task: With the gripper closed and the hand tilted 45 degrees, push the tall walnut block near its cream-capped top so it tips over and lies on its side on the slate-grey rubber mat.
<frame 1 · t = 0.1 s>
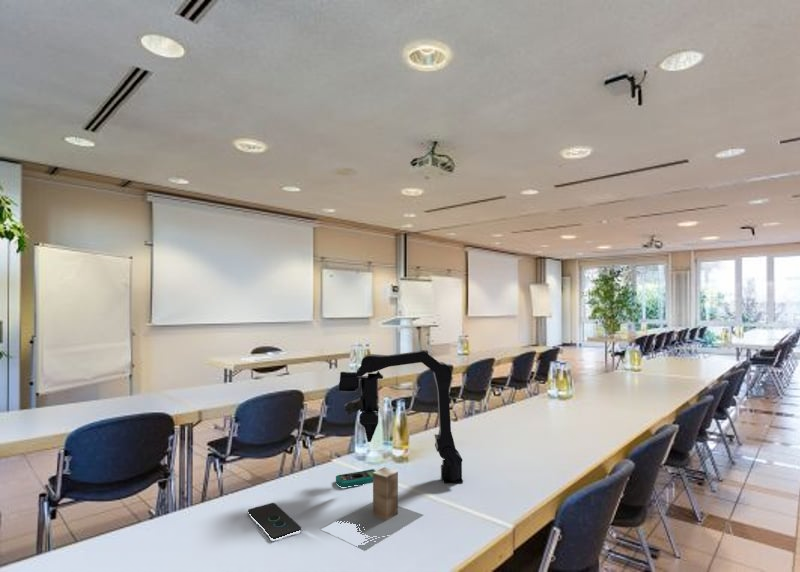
hand: (369, 437, 155), 15 cm above the table, tool pointing down, fingers open, 9 cm apart
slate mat: (372, 523, 124), on the table
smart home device: (273, 525, 125), on the table
digital multimeter: (358, 483, 154), on the table
walnut block: (385, 514, 128), resting on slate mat
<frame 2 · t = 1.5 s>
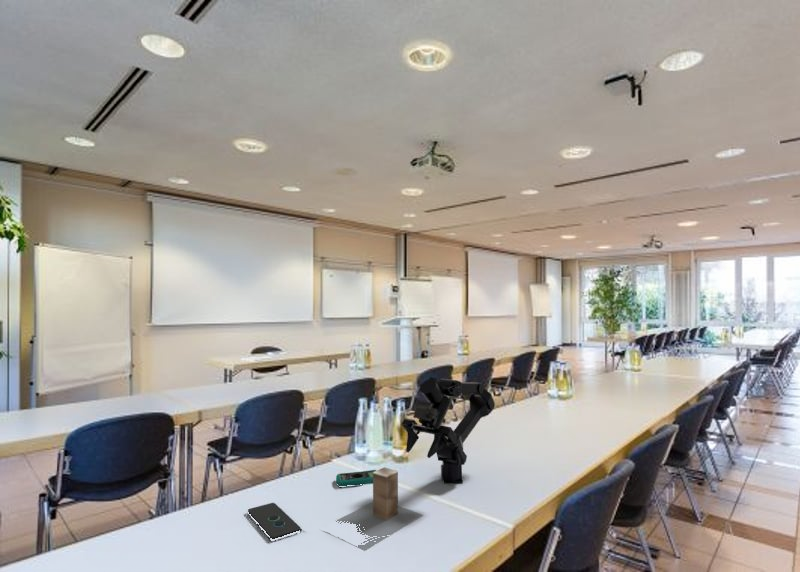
hand: (417, 454, 141), 13 cm above the table, tool tilted 45°, fingers open, 8 cm apart
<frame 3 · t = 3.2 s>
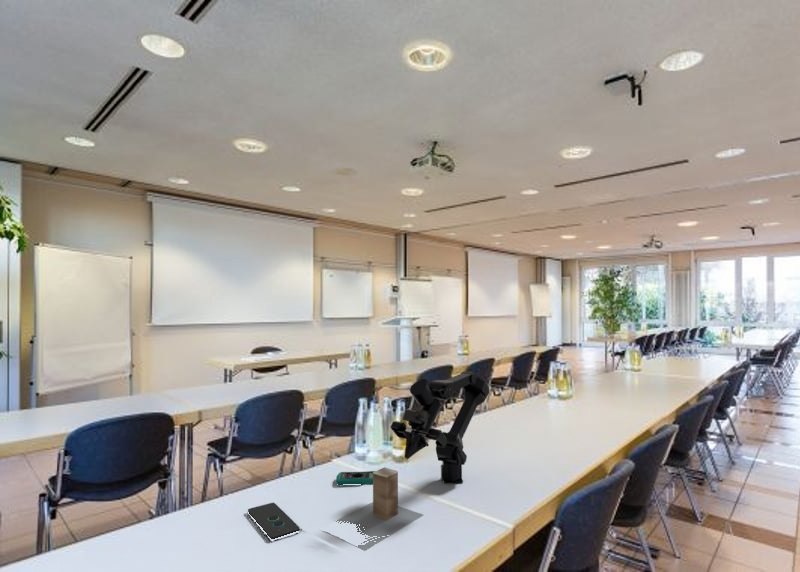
hand: (406, 458, 136), 14 cm above the table, tool tilted 45°, fingers closed
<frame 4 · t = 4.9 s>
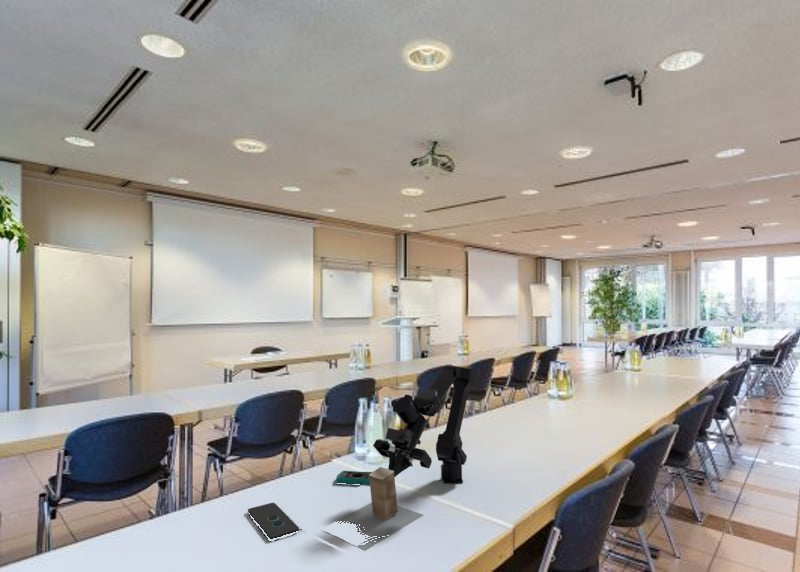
hand: (388, 479, 130), 10 cm above the table, tool tilted 45°, fingers closed
walnut block: (385, 513, 128), point 1 cm above the table, tilted 8°, touching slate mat
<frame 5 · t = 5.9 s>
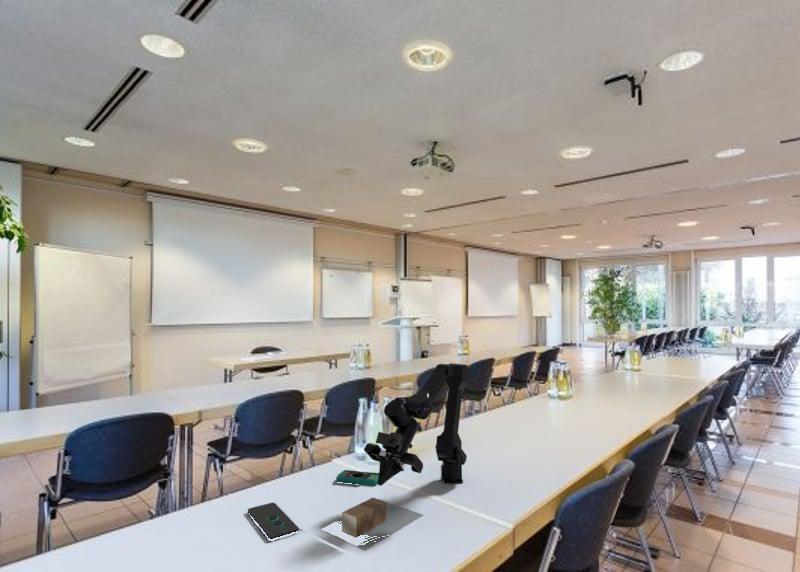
hand: (379, 484, 127), 10 cm above the table, tool tilted 45°, fingers closed
walnut block: (379, 508, 126), point 3 cm above the table, tilted 90°, touching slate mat
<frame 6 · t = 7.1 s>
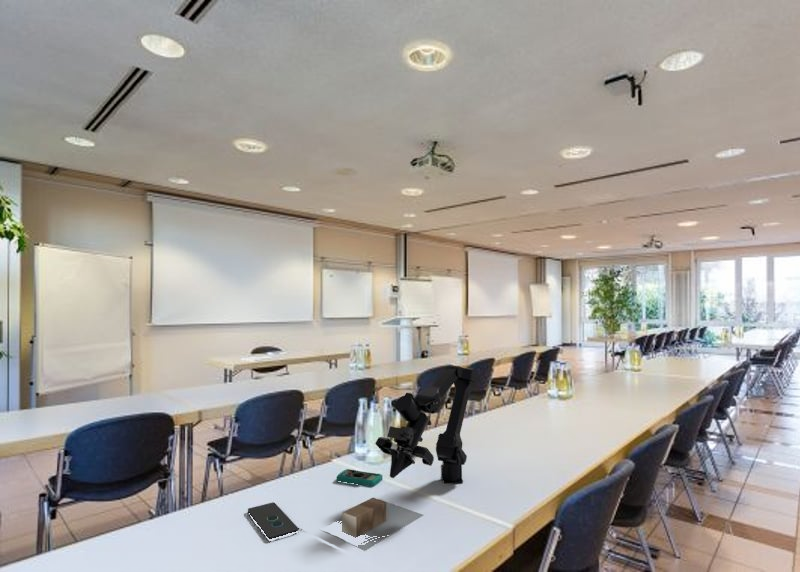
hand: (391, 477, 131), 10 cm above the table, tool tilted 45°, fingers closed
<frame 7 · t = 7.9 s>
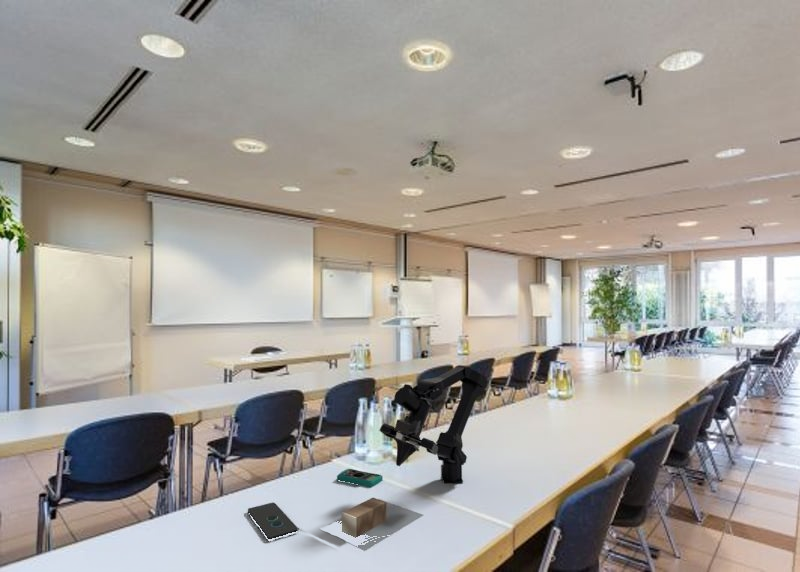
hand: (397, 465, 138), 11 cm above the table, tool tilted 35°, fingers closed
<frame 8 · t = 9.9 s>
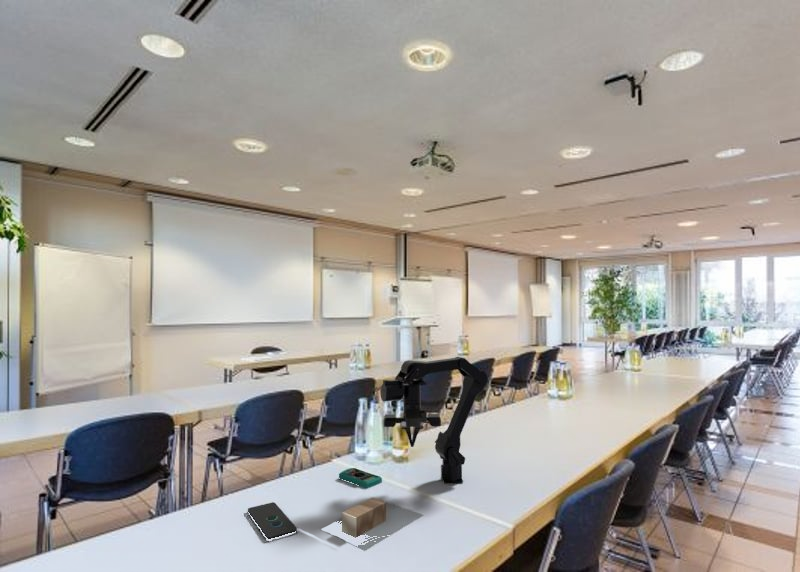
hand: (412, 446, 150), 13 cm above the table, tool pointing down, fingers closed
at the end: walnut block tilted 90°; walnut block inside the target area on the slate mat (2.1 cm from its centre), point 3.0 cm above the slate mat's base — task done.
